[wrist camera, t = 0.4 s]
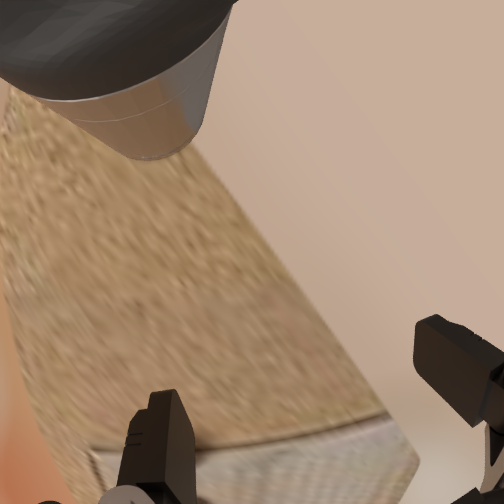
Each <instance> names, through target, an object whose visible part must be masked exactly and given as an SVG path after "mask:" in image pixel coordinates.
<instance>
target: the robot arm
mask: <svg viewBox="0 0 504 504" xmlns="http://www.w3.org/2000/svg"><path fill="white" fill-rule="evenodd" d="M237 1H238V0H0V77H1V78H2V79H4V80H5V81H7V82H8V83H10V84H12V85H13V86H15V87H16V88H18V89H20V90H22V91H24V92H25V93H26V94H28V95H29V96H31V97H33V98H34V99H36V100H37V101H39V102H41V103H42V104H44V105H45V106H47V107H48V108H50V109H52V110H53V111H55V112H56V113H58V114H60V115H62V116H63V117H65V118H66V119H68V120H69V121H71V122H72V123H74V124H76V125H77V126H79V127H80V128H82V129H83V130H85V131H86V132H88V133H90V134H91V135H93V136H94V137H96V138H97V139H99V140H100V141H102V142H103V143H105V144H106V145H108V146H109V147H111V148H113V149H114V150H116V151H117V152H119V153H121V154H122V155H124V156H126V157H129V158H132V159H135V160H144V161H151V160H159V159H162V158H165V157H168V156H171V155H173V154H175V153H176V152H178V151H180V150H181V149H183V148H184V147H185V146H186V145H187V144H188V143H190V142H191V140H192V139H193V138H194V137H195V135H196V134H197V132H198V130H199V128H200V127H201V125H202V122H203V118H204V114H205V110H206V107H207V102H208V98H209V94H210V89H211V85H212V81H213V77H214V73H215V69H216V65H217V61H218V57H219V53H220V50H221V46H222V42H223V37H224V33H225V30H226V26H227V23H228V19H229V16H230V12H231V9H232V6H233V4H234V3H235V2H237ZM413 363H414V367H415V369H416V371H417V373H418V374H419V375H420V376H421V377H422V378H423V379H424V380H425V381H426V382H427V383H428V384H429V385H430V386H431V387H432V388H433V389H434V390H435V391H436V392H437V393H438V394H439V395H440V396H441V397H442V398H443V399H444V400H445V401H446V402H447V403H448V404H449V405H450V406H451V407H452V408H453V409H454V410H455V411H456V412H457V413H458V414H459V415H460V416H461V417H462V418H463V419H464V420H465V421H466V422H467V423H468V424H469V425H470V426H471V427H472V428H473V427H475V426H476V425H478V424H479V423H480V422H482V421H483V420H485V421H486V422H487V424H486V427H485V475H484V479H483V482H482V485H481V488H480V491H478V489H477V488H476V487H475V488H474V489H472V490H471V491H469V492H468V493H467V494H465V495H464V496H462V497H461V498H459V499H457V500H456V501H454V502H453V503H451V504H504V352H502V351H501V350H500V349H498V348H497V347H495V346H494V345H492V344H491V343H489V342H488V341H486V340H484V339H482V337H480V336H479V335H477V334H474V332H472V331H471V330H469V329H468V328H466V327H465V326H462V325H459V324H455V323H452V322H449V321H447V320H446V319H444V318H443V317H441V316H440V315H438V314H434V315H432V316H430V317H427V318H425V319H423V320H420V321H418V322H417V323H416V326H415V339H414V352H413ZM127 435H128V437H126V442H125V447H124V451H123V456H122V460H121V465H120V470H119V475H118V480H117V485H116V487H114V488H112V489H110V490H108V491H107V492H106V493H105V494H104V495H103V496H102V497H101V498H100V500H99V502H98V504H197V499H196V470H195V437H194V432H193V428H192V425H191V422H190V420H189V418H188V415H187V413H186V411H185V409H184V406H183V404H182V402H181V399H180V397H179V395H178V393H177V391H176V390H175V389H170V390H164V391H157V392H152V393H151V394H150V398H149V403H148V408H147V409H142V410H138V412H137V413H136V414H135V416H134V417H133V418H132V420H131V421H130V424H129V429H128V433H127ZM39 504H60V503H59V502H56V501H44V502H41V503H39Z"/></svg>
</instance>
